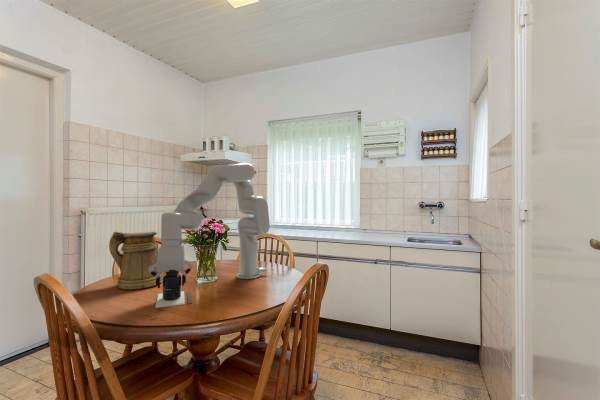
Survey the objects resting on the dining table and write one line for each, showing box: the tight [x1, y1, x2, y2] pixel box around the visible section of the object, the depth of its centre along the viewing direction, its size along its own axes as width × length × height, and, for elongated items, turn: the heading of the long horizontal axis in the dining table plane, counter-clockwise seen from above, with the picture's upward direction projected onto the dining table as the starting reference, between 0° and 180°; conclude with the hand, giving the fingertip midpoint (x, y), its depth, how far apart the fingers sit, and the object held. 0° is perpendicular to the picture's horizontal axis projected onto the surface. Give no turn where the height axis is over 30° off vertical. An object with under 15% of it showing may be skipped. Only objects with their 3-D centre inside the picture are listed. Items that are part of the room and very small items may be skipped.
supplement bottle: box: [162, 270, 182, 301], centre depth 119 cm, size 7×7×12 cm
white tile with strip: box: [155, 290, 193, 309], centre depth 119 cm, size 13×16×1 cm
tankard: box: [108, 231, 163, 290], centre depth 139 cm, size 18×24×25 cm
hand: (171, 286), depth 119 cm, fingers open, 8 cm apart
